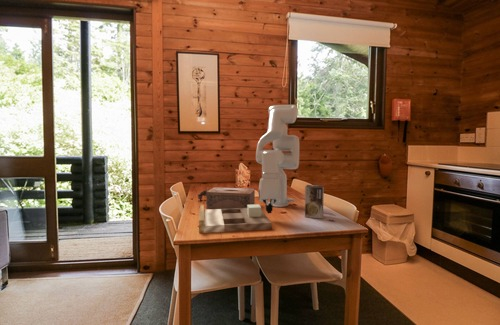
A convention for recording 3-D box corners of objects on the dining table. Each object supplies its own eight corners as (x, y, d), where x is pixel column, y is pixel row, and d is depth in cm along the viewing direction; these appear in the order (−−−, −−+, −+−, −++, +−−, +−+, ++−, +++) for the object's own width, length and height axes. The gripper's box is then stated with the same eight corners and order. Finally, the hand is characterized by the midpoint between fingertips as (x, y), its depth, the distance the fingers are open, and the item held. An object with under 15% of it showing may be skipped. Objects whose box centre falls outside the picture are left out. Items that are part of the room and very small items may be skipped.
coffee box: (323, 215, 148) (324, 185, 146) (322, 218, 142) (323, 187, 140) (306, 213, 151) (306, 184, 149) (304, 217, 145) (305, 186, 143)
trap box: (259, 212, 152) (259, 203, 152) (271, 229, 126) (271, 217, 125) (200, 215, 147) (199, 205, 147) (199, 232, 121) (198, 220, 120)
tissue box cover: (254, 204, 171) (254, 188, 170) (250, 211, 157) (250, 193, 156) (214, 203, 176) (214, 187, 175) (206, 208, 162) (206, 191, 161)
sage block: (258, 213, 141) (258, 204, 141) (261, 216, 135) (261, 207, 135) (247, 213, 140) (247, 204, 140) (248, 216, 134) (248, 207, 134)
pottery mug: (210, 203, 175) (203, 192, 174) (200, 208, 179) (193, 197, 178) (219, 195, 185) (213, 184, 184) (209, 200, 190) (203, 189, 189)
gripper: (282, 174, 142) (281, 210, 144) (253, 175, 140) (253, 211, 141) (286, 176, 135) (285, 214, 137) (256, 177, 132) (255, 215, 134)
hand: (269, 212), depth 139 cm, fingers closed
